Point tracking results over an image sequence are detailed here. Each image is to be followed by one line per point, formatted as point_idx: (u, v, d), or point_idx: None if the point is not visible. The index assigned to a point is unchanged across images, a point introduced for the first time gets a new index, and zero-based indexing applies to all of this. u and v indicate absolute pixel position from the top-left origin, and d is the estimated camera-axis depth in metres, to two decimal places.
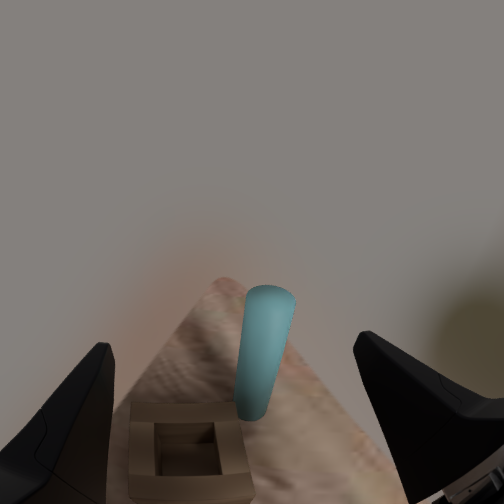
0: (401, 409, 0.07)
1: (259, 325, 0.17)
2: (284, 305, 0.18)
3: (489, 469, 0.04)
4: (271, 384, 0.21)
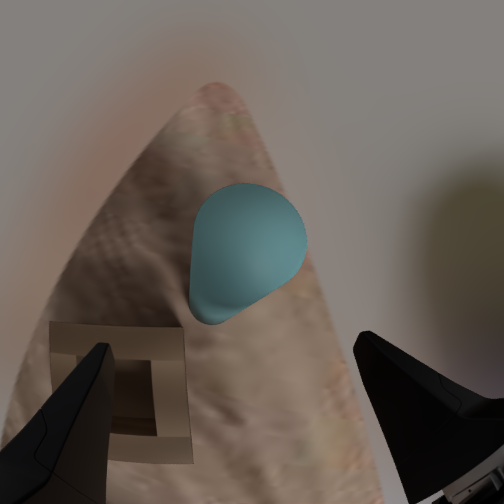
0: (401, 409, 0.07)
1: (215, 288, 0.08)
2: (278, 259, 0.08)
3: (489, 469, 0.04)
4: None
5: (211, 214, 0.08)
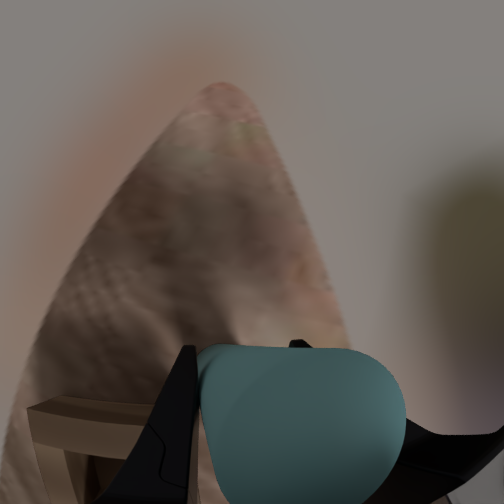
0: None
1: None
2: (361, 475, 0.03)
3: None
4: None
5: (248, 431, 0.03)
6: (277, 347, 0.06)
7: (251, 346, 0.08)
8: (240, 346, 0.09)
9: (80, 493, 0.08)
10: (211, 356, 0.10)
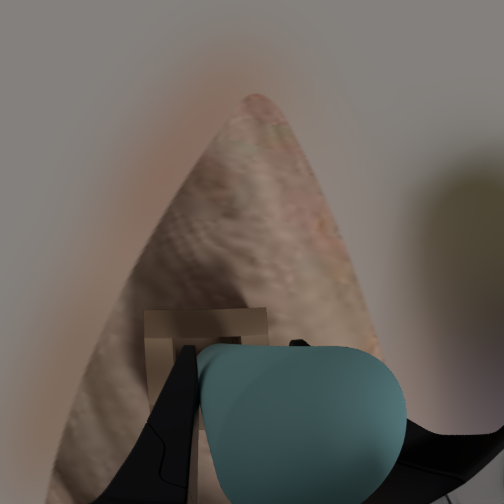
0: None
1: None
2: (362, 474, 0.03)
3: None
4: None
5: (248, 429, 0.03)
6: (277, 346, 0.06)
7: (251, 345, 0.08)
8: (240, 345, 0.09)
9: None
10: (211, 355, 0.10)
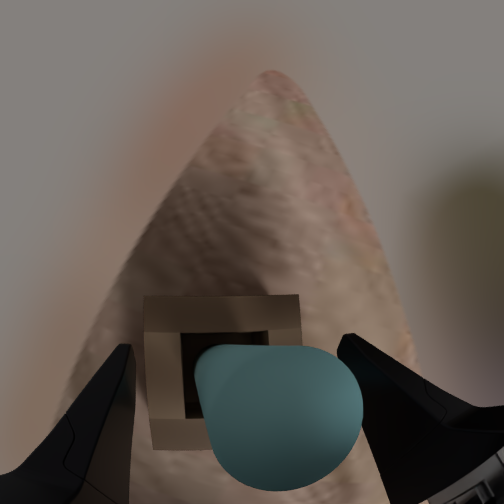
0: (384, 415, 0.07)
1: None
2: (325, 449, 0.05)
3: (475, 482, 0.04)
4: None
5: (234, 405, 0.05)
6: (262, 345, 0.07)
7: (242, 345, 0.09)
8: (234, 345, 0.10)
9: (183, 390, 0.13)
10: (209, 354, 0.11)
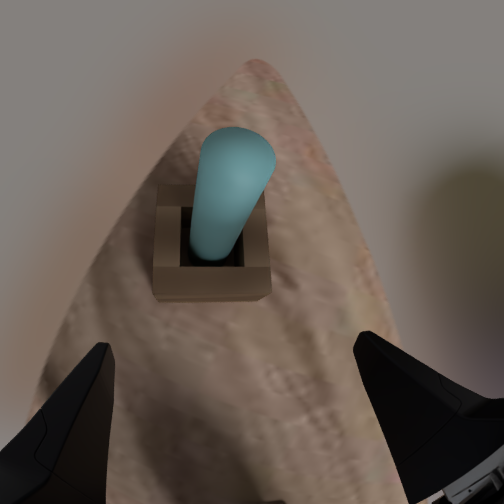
0: (401, 409, 0.07)
1: (214, 192, 0.12)
2: (256, 169, 0.11)
3: (489, 469, 0.04)
4: (230, 245, 0.18)
5: (212, 142, 0.11)
6: None
7: None
8: None
9: None
10: None
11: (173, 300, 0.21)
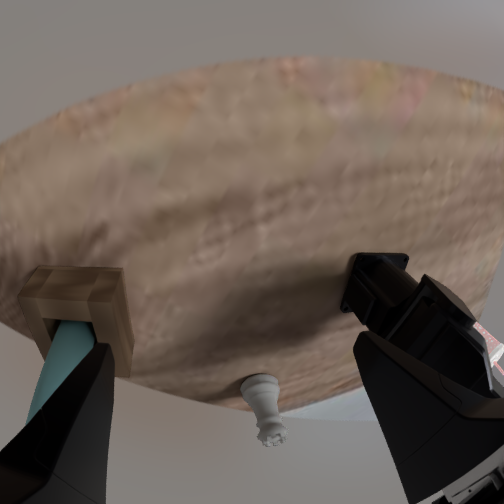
0: (401, 409, 0.07)
1: None
2: None
3: (489, 469, 0.04)
4: (81, 347, 0.17)
5: None
6: None
7: None
8: None
9: None
10: None
11: (131, 340, 0.23)
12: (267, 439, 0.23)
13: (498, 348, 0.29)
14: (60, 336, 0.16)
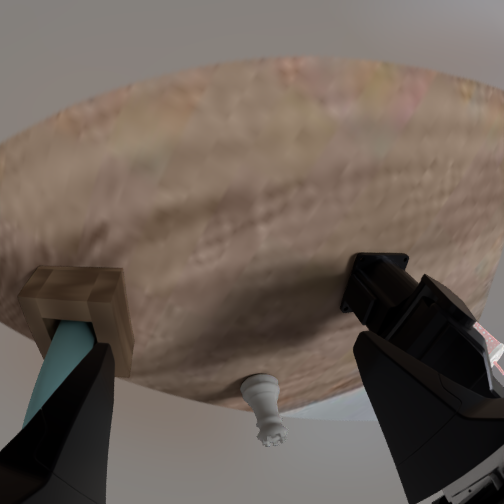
0: (401, 409, 0.07)
1: None
2: None
3: (489, 469, 0.04)
4: (80, 346, 0.17)
5: None
6: None
7: None
8: None
9: None
10: None
11: (131, 340, 0.23)
12: (267, 439, 0.23)
13: (498, 348, 0.29)
14: (59, 335, 0.16)
